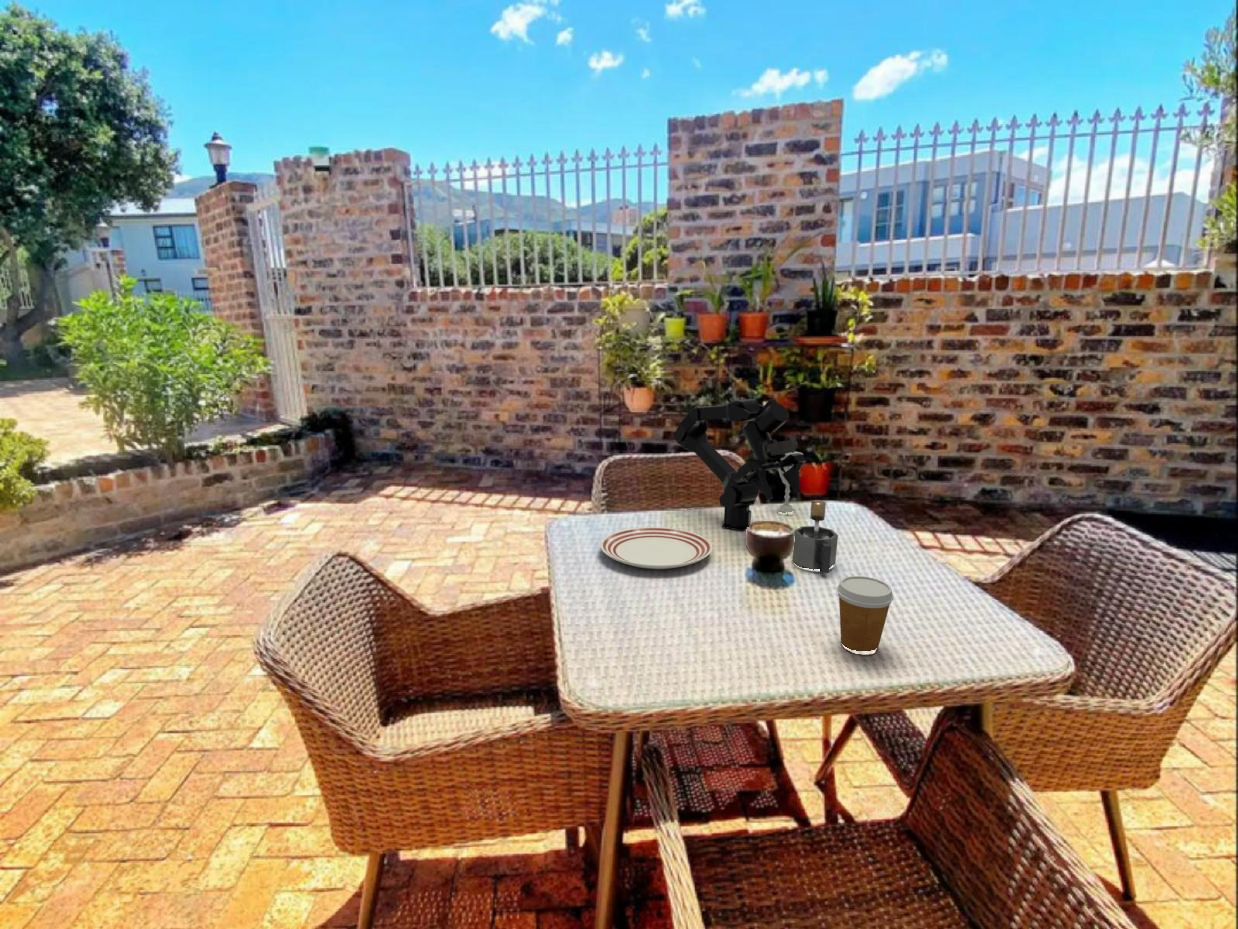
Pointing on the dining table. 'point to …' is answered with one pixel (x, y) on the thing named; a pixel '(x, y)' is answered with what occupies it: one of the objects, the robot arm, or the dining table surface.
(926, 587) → the dining table surface
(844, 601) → the disposable coffee cup
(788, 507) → the chalice
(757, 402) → the robot arm
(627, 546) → the dinner plate
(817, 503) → the plunger
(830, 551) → the press carafe
